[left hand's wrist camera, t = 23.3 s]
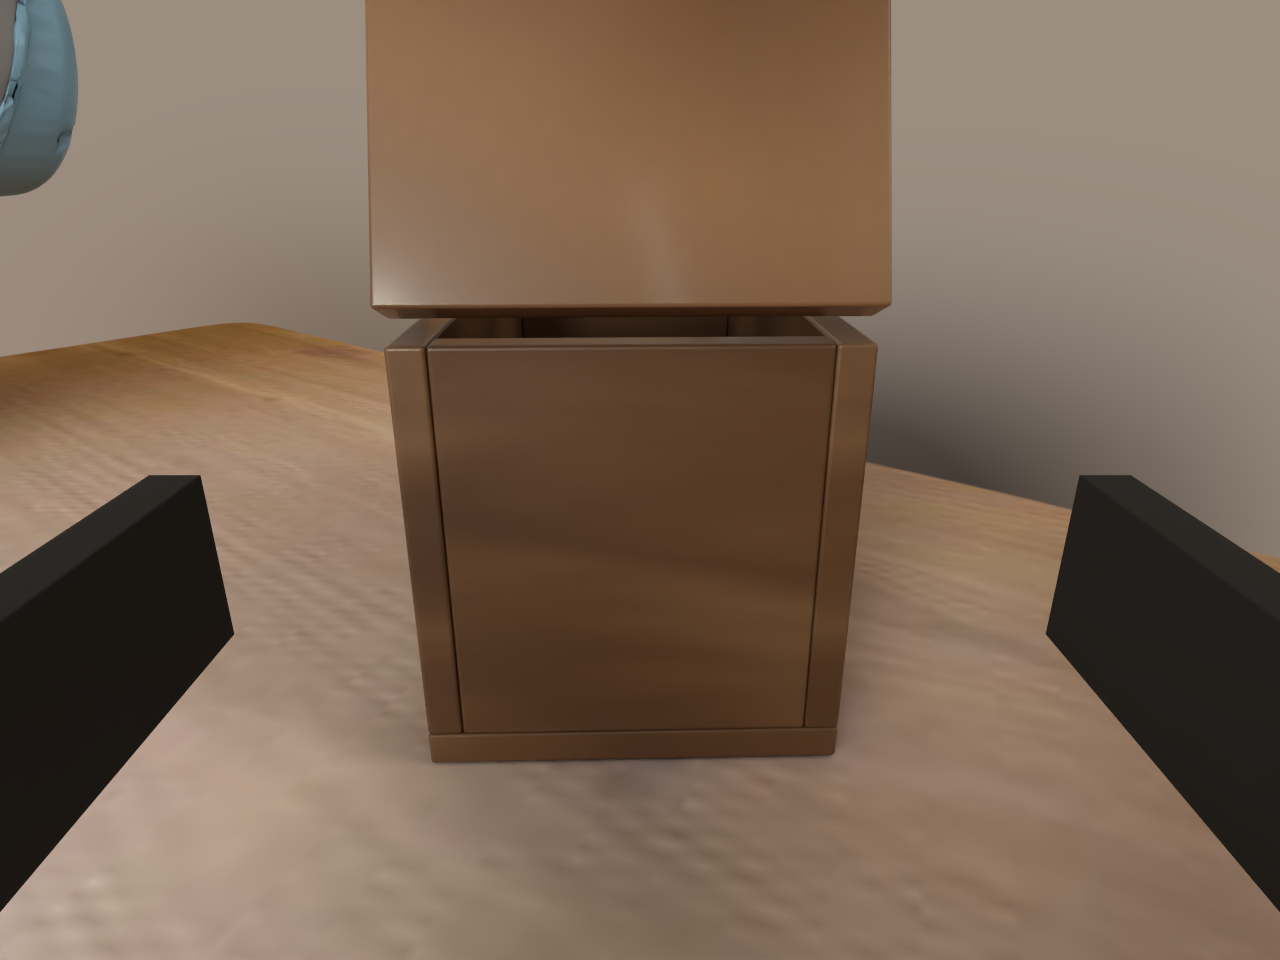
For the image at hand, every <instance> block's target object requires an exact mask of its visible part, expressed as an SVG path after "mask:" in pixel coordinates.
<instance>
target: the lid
mask: <svg viewBox="0 0 1280 960" xmlns="http://www.w3.org/2000/svg"><path fill="white" fill-rule="evenodd" d="M365 21H366V78H367V135H368V191H369V249H370V305H371V307H372V308H373V309H374V310H376V311H377V312H379V313H381V314H382V315H384V316H385V317H387V318H390V319H401V318H402V319H408V318H587V317H765V316H872V315H875V314H876V313H878V312H880V311H881V310H883V309H885V308H887V307H888V306H890V305H891V303H892V239H891V238H892V236H891V0H365Z"/></svg>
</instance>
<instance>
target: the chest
mask: <svg viewBox="0 0 1280 960" xmlns="http://www.w3.org/2000/svg"><path fill="white" fill-rule="evenodd" d="M877 351H878V346H877V343H875V342H874V341H872V340H871V339H870V338H868V337H867V336H866V335H864V334H863V333H861V332H860V331H859V330H857V329H856V328H855V327H853V326H852V325H850V324H849V323H848V322H846V321H845V320H844V319H842V318H841V317H839V316H765V317H587V318H419V319H418V320H417V321H416V322H415V323H413V324H412V325H411V326H410V327H409V328H407V329H406V330H405V331H404V332H403V333H402V334H400V335H399V336H398V337H397V338H395V339H394V340H393V341H392V342H391V343H390V344H388V345H387V346H386V347H385V350H384V354H385V362H386V371H387V379H388V388H389V396H390V405H391V414H392V422H393V431H394V439H395V448H396V456H397V465H398V473H399V482H400V491H401V499H402V508H403V516H404V525H405V533H406V542H407V551H408V559H409V568H410V576H411V585H412V593H413V602H414V611H415V619H416V628H417V636H418V645H419V653H420V662H421V671H422V679H423V688H424V696H425V705H426V713H427V722H428V730H429V732H430V734H429V741H430V750H431V759H432V761H433V762H467V761H520V760H573V759H626V758H679V757H732V756H786V755H832V754H834V753H835V745H836V736H837V727H836V726H837V724H838V716H839V706H840V697H841V688H842V678H843V669H844V660H845V650H846V641H847V632H848V622H849V613H850V603H851V594H852V585H853V575H854V566H855V557H856V547H857V538H858V529H859V519H860V510H861V501H862V491H863V482H864V473H865V463H866V454H867V445H868V435H869V426H870V417H871V407H872V398H873V389H874V379H875V370H876V361H877Z"/></svg>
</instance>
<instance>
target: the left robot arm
mask: <svg viewBox="0 0 1280 960" xmlns="http://www.w3.org/2000/svg"><path fill="white" fill-rule="evenodd" d="M233 635H234V631H233V626H232V622H231V617H230V612H229V607H228V603H227V598H226V593H225V589H224V584H223V579H222V575H221V570H220V565H219V560H218V556H217V551H216V546H215V542H214V537H213V532H212V527H211V523H210V518H209V513H208V509H207V504H206V499H205V495H204V490H203V485H202V480H201V476H200V475H149V476H147V477H146V478H144V479H143V480H141V481H140V482H138V483H137V484H135V485H134V486H132V487H131V488H129V489H128V490H126V491H125V492H123V493H122V494H120V495H119V496H117V497H116V498H114V499H112V500H111V501H109V502H108V503H106V504H105V505H103V506H102V507H100V508H99V509H97V510H96V511H94V512H93V513H91V514H90V515H88V516H87V517H85V518H84V519H82V520H81V521H79V522H78V523H76V524H75V525H73V526H71V527H70V528H68V529H67V530H65V531H64V532H62V533H61V534H59V535H58V536H56V537H55V538H53V539H52V540H50V541H49V542H47V543H46V544H44V545H43V546H41V547H40V548H38V549H37V550H35V551H34V552H32V553H30V554H29V555H27V556H26V557H24V558H23V559H21V560H20V561H18V562H17V563H15V564H14V565H12V566H11V567H9V568H8V569H6V570H5V571H3V572H2V573H0V912H1V910H2V909H3V908H4V907H5V906H6V904H7V903H8V902H9V901H10V900H11V899H12V897H13V896H14V895H15V894H16V893H17V891H18V890H19V889H20V888H21V887H22V885H23V884H24V883H25V882H26V881H27V880H28V878H29V877H30V876H31V875H32V874H33V872H34V871H35V870H36V869H37V868H38V866H39V865H40V864H41V863H42V862H43V861H44V859H45V858H46V857H47V856H48V855H49V853H50V852H51V851H52V850H53V849H54V847H55V846H56V845H57V844H58V843H59V842H60V840H61V839H62V838H63V837H64V836H65V834H66V833H67V832H68V831H69V830H70V828H71V827H72V826H73V825H74V824H75V823H76V821H77V820H78V819H79V818H80V817H81V815H82V814H83V813H84V812H85V811H86V809H87V808H88V807H89V806H90V805H91V804H92V802H93V801H94V800H95V799H96V798H97V796H98V795H99V794H100V793H101V792H102V790H103V789H104V788H105V787H106V786H107V785H108V783H109V782H110V781H111V780H112V779H113V777H114V776H115V775H116V774H117V773H118V771H119V770H120V769H121V768H122V767H123V766H124V764H125V763H126V762H127V761H128V760H129V758H130V757H131V756H132V755H133V754H134V752H135V751H136V750H137V749H138V748H139V747H140V745H141V744H142V743H143V742H144V741H145V739H146V738H147V737H148V736H149V735H150V733H151V732H152V731H153V730H154V729H155V728H156V726H157V725H158V724H159V723H160V722H161V720H162V719H163V718H164V717H165V716H166V714H167V713H168V712H169V711H170V710H171V709H172V707H173V706H174V705H175V704H176V703H177V701H178V700H179V699H180V698H181V697H182V695H183V694H184V693H185V692H186V691H187V690H188V688H189V687H190V686H191V685H192V684H193V682H194V681H195V680H196V679H197V678H198V676H199V675H200V674H201V673H202V672H203V671H204V669H205V668H206V667H207V666H208V665H209V663H210V662H211V661H212V660H213V659H214V657H215V656H216V655H217V654H218V653H219V652H220V650H221V649H222V648H223V647H224V646H225V644H226V643H227V642H228V641H229V640H230V638H231V637H232V636H233ZM1046 635H1047V636H1048V637H1049V638H1050V640H1051V641H1052V642H1053V643H1054V644H1055V646H1056V647H1057V648H1058V649H1059V650H1060V652H1061V653H1062V654H1063V655H1064V656H1065V657H1066V659H1067V660H1068V661H1069V662H1070V663H1071V665H1072V666H1073V667H1074V668H1075V669H1076V671H1077V672H1078V673H1079V674H1080V675H1081V676H1082V678H1083V679H1084V680H1085V681H1086V682H1087V684H1088V685H1089V686H1090V687H1091V688H1092V690H1093V691H1094V692H1095V693H1096V694H1097V695H1098V697H1099V698H1100V699H1101V700H1102V701H1103V703H1104V704H1105V705H1106V706H1107V707H1108V709H1109V710H1110V711H1111V712H1112V713H1113V714H1114V716H1115V717H1116V718H1117V719H1118V720H1119V722H1120V723H1121V724H1122V725H1123V726H1124V728H1125V729H1126V730H1127V731H1128V732H1129V733H1130V735H1131V736H1132V737H1133V738H1134V739H1135V741H1136V742H1137V743H1138V744H1139V745H1140V747H1141V748H1142V749H1143V750H1144V751H1145V752H1146V754H1147V755H1148V756H1149V757H1150V758H1151V760H1152V761H1153V762H1154V763H1155V764H1156V766H1157V767H1158V768H1159V769H1160V770H1161V771H1162V773H1163V774H1164V775H1165V776H1166V777H1167V779H1168V780H1169V781H1170V782H1171V783H1172V785H1173V786H1174V787H1175V788H1176V789H1177V790H1178V792H1179V793H1180V794H1181V795H1182V796H1183V798H1184V799H1185V800H1186V801H1187V802H1188V804H1189V805H1190V806H1191V807H1192V808H1193V809H1194V811H1195V812H1196V813H1197V814H1198V815H1199V817H1200V818H1201V819H1202V820H1203V821H1204V823H1205V824H1206V825H1207V826H1208V827H1209V828H1210V830H1211V831H1212V832H1213V833H1214V834H1215V836H1216V837H1217V838H1218V839H1219V840H1220V842H1221V843H1222V844H1223V845H1224V846H1225V847H1226V849H1227V850H1228V851H1229V852H1230V853H1231V855H1232V856H1233V857H1234V858H1235V859H1236V861H1237V862H1238V863H1239V864H1240V865H1241V866H1242V868H1243V869H1244V870H1245V871H1246V872H1247V874H1248V875H1249V876H1250V877H1251V878H1252V880H1253V881H1254V882H1255V883H1256V884H1257V885H1258V887H1259V888H1260V889H1261V890H1262V891H1263V893H1264V894H1265V895H1266V896H1267V897H1268V899H1269V900H1270V901H1271V902H1272V903H1273V904H1274V906H1275V907H1276V908H1277V909H1278V910H1279V912H1280V573H1278V572H1277V571H1275V570H1274V569H1272V568H1271V567H1269V566H1268V565H1266V564H1265V563H1263V562H1262V561H1260V560H1259V559H1257V558H1256V557H1254V556H1253V555H1251V554H1250V553H1248V552H1246V551H1245V550H1243V549H1242V548H1240V547H1239V546H1237V545H1236V544H1234V543H1233V542H1231V541H1230V540H1228V539H1227V538H1225V537H1224V536H1222V535H1221V534H1219V533H1218V532H1216V531H1215V530H1213V529H1212V528H1210V527H1209V526H1207V525H1205V524H1204V523H1202V522H1201V521H1199V520H1198V519H1196V518H1195V517H1193V516H1192V515H1190V514H1189V513H1187V512H1186V511H1184V510H1183V509H1181V508H1180V507H1178V506H1177V505H1175V504H1174V503H1172V502H1171V501H1169V500H1168V499H1166V498H1164V497H1163V496H1161V495H1160V494H1158V493H1157V492H1155V491H1154V490H1152V489H1151V488H1149V487H1148V486H1146V485H1145V484H1143V483H1142V482H1140V481H1139V480H1137V479H1136V478H1134V477H1133V476H1131V475H1080V476H1079V481H1078V485H1077V490H1076V495H1075V499H1074V504H1073V509H1072V513H1071V518H1070V523H1069V527H1068V532H1067V537H1066V542H1065V546H1064V551H1063V556H1062V560H1061V565H1060V570H1059V575H1058V579H1057V584H1056V589H1055V593H1054V598H1053V603H1052V607H1051V612H1050V617H1049V622H1048V626H1047V631H1046Z"/></svg>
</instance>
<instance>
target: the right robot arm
mask: <svg viewBox="0 0 1280 960" xmlns="http://www.w3.org/2000/svg"><path fill="white" fill-rule="evenodd" d="M77 102H78V75H77V64H76V56H75V49H74V44H73V38H72V33H71V29H70V25H69V22H68V18H67V15H66V12H65V9H64V6H63V4H62V1H61V0H0V196H11V195H18V194H23V193H27V192H30V191H32V190H34V189H36V188H38V187H40V186H41V185H42V184H44V183H45V182H47V181H48V180H49V179H50V178H51V177H52V176H53V175H54V173H55V172H56V171H57V169H58V168H59V166H60V165H61V163H62V161H63V159H64V157H65V155H66V153H67V150H68V148H69V145H70V140H71V135H72V129H73V127H74V125H75V120H76V113H77Z"/></svg>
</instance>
